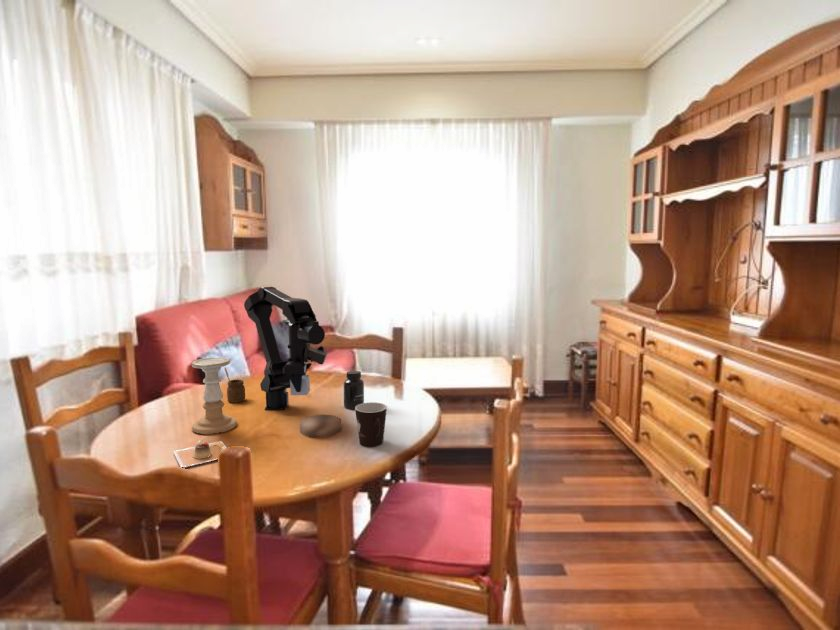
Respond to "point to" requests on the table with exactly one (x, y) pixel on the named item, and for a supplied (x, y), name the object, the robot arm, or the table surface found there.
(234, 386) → the utensil holder
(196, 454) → the dessert
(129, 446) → the table surface
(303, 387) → the blue cube
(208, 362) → the candle holder
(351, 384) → the supplement bottle
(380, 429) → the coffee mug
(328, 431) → the brown disc
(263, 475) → the table surface
